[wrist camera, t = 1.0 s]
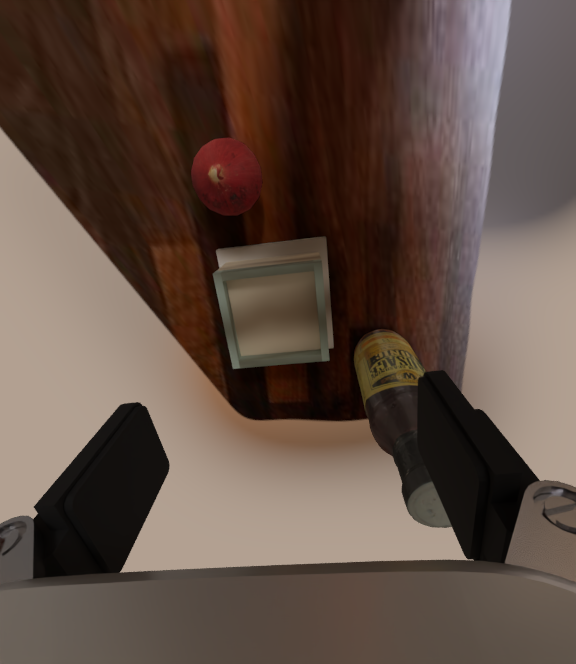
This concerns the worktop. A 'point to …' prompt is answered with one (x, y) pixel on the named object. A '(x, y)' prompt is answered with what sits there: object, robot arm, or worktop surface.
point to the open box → (275, 302)
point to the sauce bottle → (398, 416)
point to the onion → (227, 176)
